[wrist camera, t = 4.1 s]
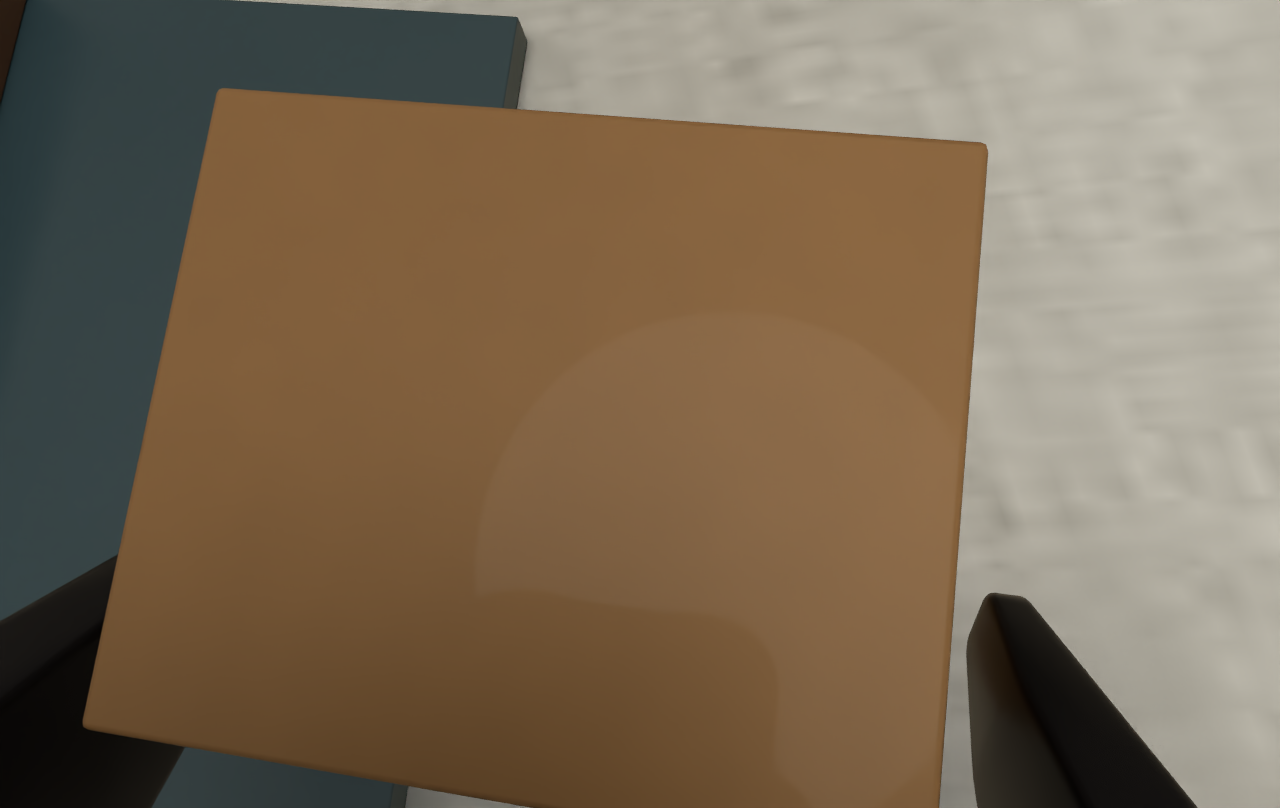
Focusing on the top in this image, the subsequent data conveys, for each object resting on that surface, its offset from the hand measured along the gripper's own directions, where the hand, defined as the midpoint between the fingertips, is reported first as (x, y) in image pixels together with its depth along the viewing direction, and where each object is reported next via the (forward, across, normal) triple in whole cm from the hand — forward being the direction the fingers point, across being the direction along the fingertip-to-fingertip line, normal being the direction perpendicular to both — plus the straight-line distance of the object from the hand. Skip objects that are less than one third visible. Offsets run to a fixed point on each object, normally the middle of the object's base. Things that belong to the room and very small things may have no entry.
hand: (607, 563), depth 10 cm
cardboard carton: (+7, 0, +5) cm, 9 cm away
